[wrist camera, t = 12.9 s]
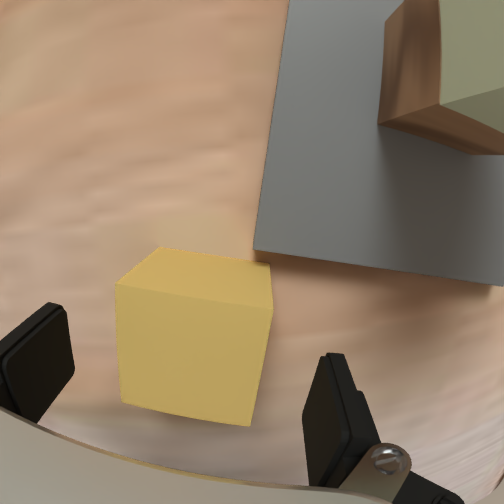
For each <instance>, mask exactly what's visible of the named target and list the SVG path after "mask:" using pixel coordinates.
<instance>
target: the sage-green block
mask: <svg viewBox="0 0 504 504" xmlns="http://www.w3.org/2000/svg"><path fill="white" fill-rule="evenodd" d="M439 2H440V16H441V43H442V69H441V96H440V105H441V106H444V107H446V108H449V109H451V110H454V111H456V112H458V113H461V114H463V115H465V116H468V117H470V118H472V119H475V120H477V121H479V122H481V123H483V124H485V125H488V126H490V127H492V128H494V129H496V130H498V131H500V132H502V133H504V0H439Z"/></svg>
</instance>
